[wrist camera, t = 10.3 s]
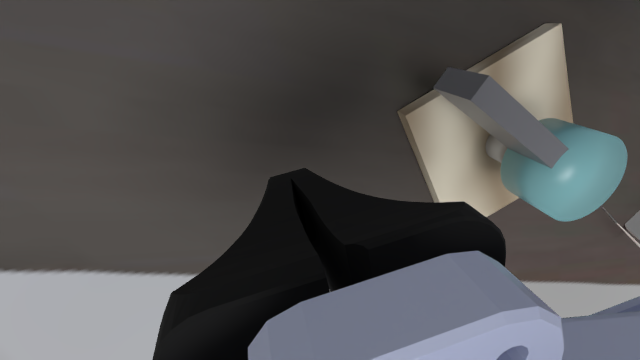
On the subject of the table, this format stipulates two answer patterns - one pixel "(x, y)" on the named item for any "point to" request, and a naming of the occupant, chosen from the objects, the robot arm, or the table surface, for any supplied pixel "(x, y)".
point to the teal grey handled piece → (540, 149)
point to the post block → (470, 138)
